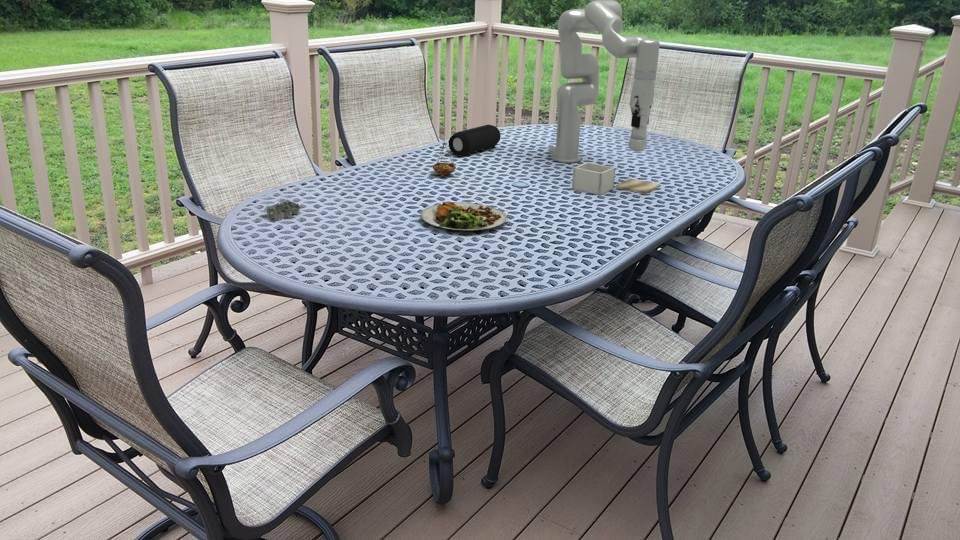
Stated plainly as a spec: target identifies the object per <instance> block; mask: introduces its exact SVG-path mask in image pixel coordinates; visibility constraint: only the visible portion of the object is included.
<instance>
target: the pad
mask: <svg viewBox="0 0 960 540" xmlns="http://www.w3.org/2000/svg"><path fill="white" fill-rule="evenodd" d="M615 188H616V189H621V190H625V191H628V190H629V192H634V193H639V194H643V195H647V194H649V193H650V192H653V191H654V190H657V189H658V188H660V184H658V183H654V182H650V181H644V180H640V179H635V178H629V179H627V180H625V181H622V182H620V183H618V184H616V185H615Z"/></svg>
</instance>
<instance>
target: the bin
mask: <svg viewBox="0 0 960 540" xmlns="http://www.w3.org/2000/svg"><path fill="white" fill-rule="evenodd" d="M615 174H616V167H614V166H609V165H603V164H598V163H593V162H590V161H587V162H584V163H582V164H579V165H577V166H574V167H573V169H572V179H571V180H572V183H571V189H573V190H575V189H576V191H580V192H585V193H589V194H593V195H599V196H601V195H603V194H605V193H607V192H609V191H611V190H613V189H614V185H615V184H614V183H615Z"/></svg>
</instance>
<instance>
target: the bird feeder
mask: <svg viewBox="0 0 960 540" xmlns="http://www.w3.org/2000/svg"><path fill="white" fill-rule="evenodd" d="M443 119H444V120H443V122H444V123H443V131H444V132H443V145H442V146H441V147H442V148H441V150H440V154H439V157H438V159H437V162H436V163H434V164H432V169H433V171H434V172H435V173H437V174H438V175H440V176H441V175H444V176H447V175H448V176H449V174H452V173H454V172H455V170H456V169H457V166H456V164H455V163H454V162H453V160H452V158H451V155H450V153H449V150H448V147H447V144H446V141H445V139H446V136H445V135H446V107H444V115H443ZM444 149H446V151H447V155H448V156H449V159H450V162H442V159H443V154H444Z"/></svg>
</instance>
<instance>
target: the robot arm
mask: <svg viewBox="0 0 960 540" xmlns="http://www.w3.org/2000/svg"><path fill="white" fill-rule="evenodd" d="M622 8H623V7H622V6H621V4H620V3H619V2H618V1H616V0H593V1H590V2H588V3H587V4H586V6H585V8H574V9H569V10H568V9H567V10H565V11H564V12H562V14H560V16H559V18H558V22H557V33H558V37H559V42H560V47H559V48H560V64H559V65H560V73H561V74H560V75H561V76H562V78H564V79H566V80H575V79H576V80H577V79H581V80H582V81H572V82H565V83H562V84H560V85H559V87H558V88H557V91H556V102H557V123H556V124H557V125H556V137H555V138H556V140H555V146H553V145H552V146H551V145H549V146H548V148H547V152H550V153H552V154H551V157H550V158H551V160H552V161H555V162H557V161H558V162H559V163H564V164H565V163H566V164H572V163H573V164H574V163H579V162H581V161H582V156H581V155H580V154H579V148H580V147H579V145H580V137H581V136H580V135H581V133H580V132H581V122H582V117H581V113H580V111H579V109H578V107H582V106H591V105H593V104H595V103H596V102H597V100H598V98H599V91H600V90H599V89H600V86H599V85H600V79H599V78H600V67H599V62H598V59H597V58H596V56H594V55H593V54H591V53H583V50H582V49H583V45H582V43H583V42H582V40H581V38H580V36H579V34H578V33H579V32H581V33H584V32H585V33H587V32H598V31H599V32H600V33H601V39H602V44H603V47H604V49H606V51H608V52H609V54H611V55H612V56H613V57H615V58H618V59H631V58H632V59H635V60H636V61H635V68H634V76H633V82H632V88H631V92H630V98H629V108H630V110H631V121H630V126H631V128H632V127H636V128H639V127H640V119H641V117H640V113H641V110H642V109H643V108H645V107H646V106H649V108H650V110H651V109H652V106H653V104H654V98H655V97H654V96H655V83H656V82H655V81H657V80H656V79H657V71H658V61H659V55H660V54H659V53H660V41H659V40H658V39H654V38H648V37H647V36H644V35H625V36H624V35H623V36H622V35H620V33H621V30H622V29H623V26H624V22H623V19H622V16H623V9H622ZM636 106H639V107H636ZM636 109H638V111H637V110H636ZM649 123H650V118H649V119H648V124H647V126H649Z"/></svg>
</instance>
